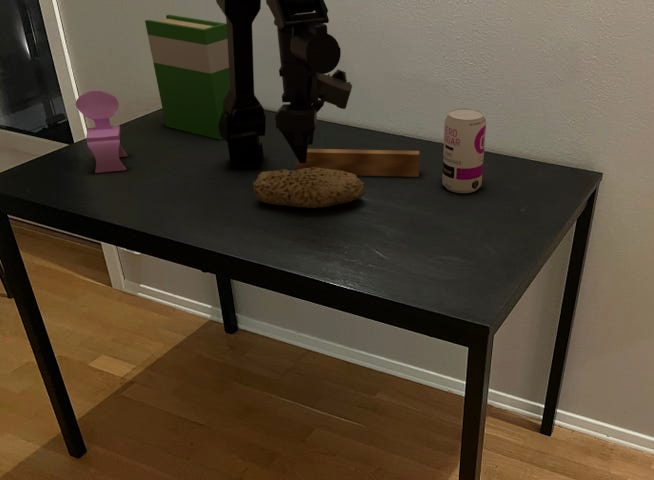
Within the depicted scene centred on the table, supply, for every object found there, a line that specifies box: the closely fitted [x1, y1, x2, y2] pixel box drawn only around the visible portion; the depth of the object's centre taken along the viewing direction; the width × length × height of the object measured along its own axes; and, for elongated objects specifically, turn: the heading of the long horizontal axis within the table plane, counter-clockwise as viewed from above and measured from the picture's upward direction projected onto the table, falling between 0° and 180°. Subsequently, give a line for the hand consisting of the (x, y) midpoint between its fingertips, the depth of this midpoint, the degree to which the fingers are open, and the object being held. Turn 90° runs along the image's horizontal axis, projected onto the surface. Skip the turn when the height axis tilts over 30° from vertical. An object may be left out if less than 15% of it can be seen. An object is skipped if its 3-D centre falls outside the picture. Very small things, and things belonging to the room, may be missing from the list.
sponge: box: [252, 167, 366, 209], centre depth 138 cm, size 13×8×20 cm
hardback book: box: [144, 14, 230, 140], centre depth 166 cm, size 18×7×24 cm, turn 61°
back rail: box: [295, 148, 420, 178], centre depth 151 cm, size 26×2×5 cm, turn 89°
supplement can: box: [441, 107, 487, 194], centre depth 143 cm, size 8×8×15 cm
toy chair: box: [75, 89, 128, 174], centre depth 150 cm, size 8×9×15 cm
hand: (306, 153), depth 125 cm, fingers open, 9 cm apart
